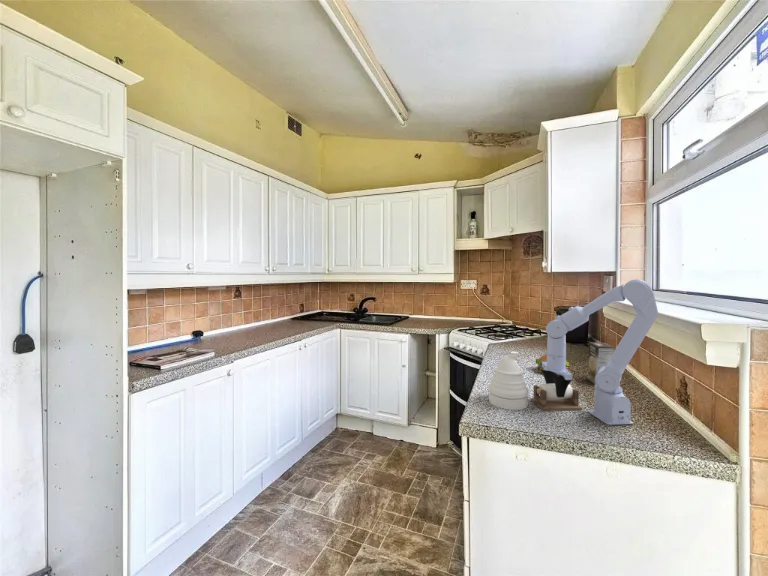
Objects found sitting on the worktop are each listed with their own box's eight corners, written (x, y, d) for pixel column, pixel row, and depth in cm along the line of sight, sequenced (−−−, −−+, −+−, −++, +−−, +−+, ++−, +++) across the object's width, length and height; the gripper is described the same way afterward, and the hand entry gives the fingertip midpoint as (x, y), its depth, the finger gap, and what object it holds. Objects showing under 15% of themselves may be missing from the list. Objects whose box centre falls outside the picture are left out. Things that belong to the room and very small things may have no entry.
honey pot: (527, 398, 119) (528, 349, 118) (528, 412, 107) (529, 358, 106) (490, 393, 124) (490, 346, 123) (487, 406, 112) (487, 354, 111)
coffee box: (587, 378, 139) (588, 341, 138) (603, 379, 138) (604, 342, 137) (596, 386, 130) (597, 346, 129) (614, 387, 129) (615, 347, 128)
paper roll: (577, 400, 110) (577, 386, 110) (542, 401, 110) (542, 387, 109) (567, 394, 115) (568, 380, 115) (534, 395, 115) (534, 381, 114)
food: (578, 374, 145) (578, 357, 145) (556, 379, 139) (556, 360, 139) (550, 366, 158) (551, 350, 157) (529, 370, 152) (530, 353, 151)
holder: (582, 410, 108) (582, 392, 108) (544, 411, 108) (544, 393, 107) (565, 399, 117) (566, 382, 117) (530, 400, 117) (530, 383, 116)
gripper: (534, 350, 119) (533, 386, 119) (557, 360, 104) (556, 402, 105) (552, 349, 119) (552, 386, 120) (578, 360, 104) (577, 402, 105)
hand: (555, 393), depth 112 cm, fingers closed on paper roll, 5 cm apart
